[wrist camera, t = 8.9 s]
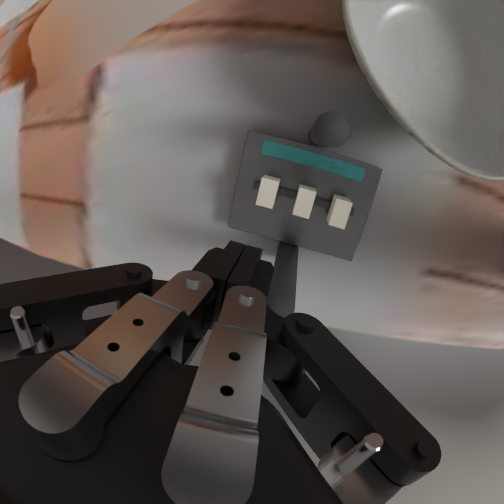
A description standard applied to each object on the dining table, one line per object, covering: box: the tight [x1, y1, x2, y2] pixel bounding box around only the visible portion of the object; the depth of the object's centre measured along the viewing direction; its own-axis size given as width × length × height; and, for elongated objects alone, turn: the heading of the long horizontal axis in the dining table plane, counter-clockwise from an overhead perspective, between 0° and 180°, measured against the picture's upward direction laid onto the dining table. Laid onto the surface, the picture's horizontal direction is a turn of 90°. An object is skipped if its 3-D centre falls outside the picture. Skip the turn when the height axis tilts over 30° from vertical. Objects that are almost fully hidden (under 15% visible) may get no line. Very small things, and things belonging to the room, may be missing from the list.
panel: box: [228, 131, 382, 261], centre depth 32 cm, size 16×12×3 cm
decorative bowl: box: [342, 0, 504, 181], centre depth 18 cm, size 27×27×12 cm
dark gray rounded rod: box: [308, 112, 351, 147], centre depth 24 cm, size 3×3×14 cm
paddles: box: [256, 175, 353, 229], centre depth 29 cm, size 10×3×2 cm, turn 77°
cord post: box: [267, 242, 298, 318], centre depth 30 cm, size 3×3×14 cm
